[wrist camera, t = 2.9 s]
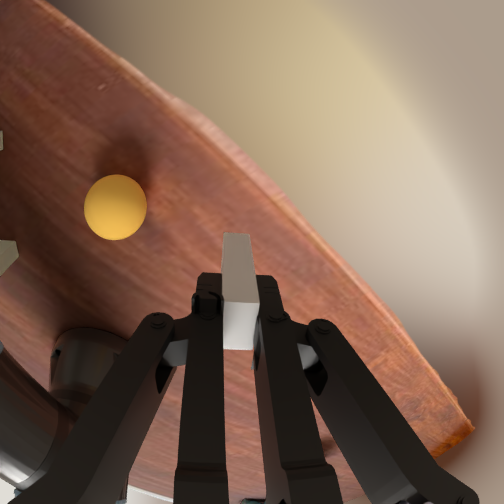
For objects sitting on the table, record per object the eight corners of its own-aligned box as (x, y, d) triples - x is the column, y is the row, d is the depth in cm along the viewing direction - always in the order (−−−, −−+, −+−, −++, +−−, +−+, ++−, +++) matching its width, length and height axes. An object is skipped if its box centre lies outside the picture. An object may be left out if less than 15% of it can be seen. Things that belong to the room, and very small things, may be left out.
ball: (153, 225, 28) (139, 253, 23) (100, 223, 27) (78, 249, 22) (153, 168, 25) (136, 185, 20) (96, 167, 25) (70, 184, 20)
